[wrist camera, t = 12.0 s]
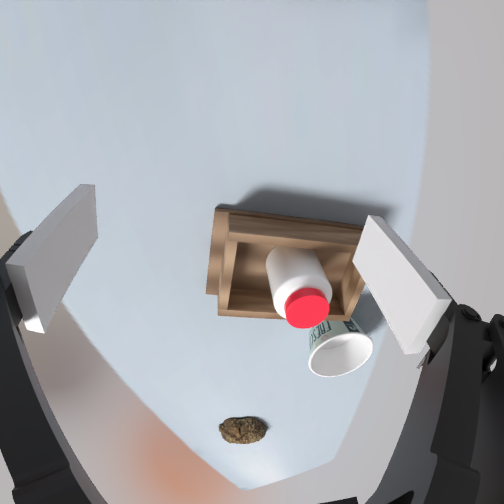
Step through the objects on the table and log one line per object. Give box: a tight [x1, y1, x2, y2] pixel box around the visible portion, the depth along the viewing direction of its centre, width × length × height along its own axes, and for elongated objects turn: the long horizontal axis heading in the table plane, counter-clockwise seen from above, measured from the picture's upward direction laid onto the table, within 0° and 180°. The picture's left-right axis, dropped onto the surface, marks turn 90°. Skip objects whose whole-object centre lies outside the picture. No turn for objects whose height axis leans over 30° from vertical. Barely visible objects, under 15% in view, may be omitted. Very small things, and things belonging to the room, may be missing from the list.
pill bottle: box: [266, 246, 332, 328], centre depth 43 cm, size 8×8×11 cm
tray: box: [206, 208, 365, 321], centre depth 46 cm, size 14×24×6 cm, turn 81°
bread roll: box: [219, 417, 266, 444], centre depth 73 cm, size 13×12×5 cm
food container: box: [309, 317, 374, 377], centre depth 55 cm, size 12×12×6 cm
